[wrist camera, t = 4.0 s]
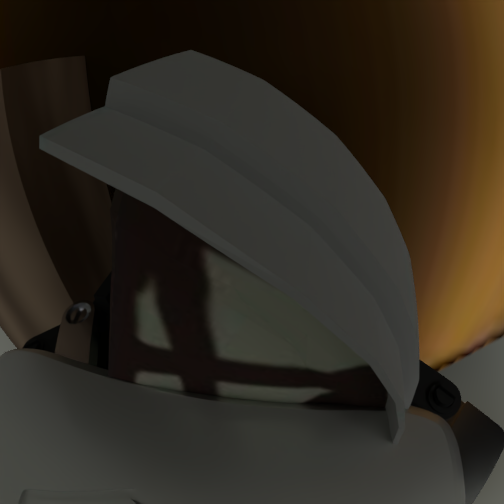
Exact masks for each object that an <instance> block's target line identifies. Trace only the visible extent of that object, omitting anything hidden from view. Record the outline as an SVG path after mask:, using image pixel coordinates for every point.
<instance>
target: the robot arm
mask: <svg viewBox="0 0 504 504" xmlns="http://www.w3.org/2000/svg"><path fill="white" fill-rule="evenodd" d="M111 274H112V271H111V272H110V274H109V275H108V276H107V278H106V279H105V280H104V282H103V283H102V284H101V286H100V287H99V289H98V290H97V291H96V293H95V294H94V298H95V300H94V302H93V303H92V302H91V301H88V300H80V301H77V302H75V303H73V304H71V305H70V306H69V307H68V308H67V309H66V310H65V311H64V314H63V316H62V320H61V324H60V325H58V326H56V327H54V328H51V329H49V330H47V331H45V332H43V333H41V334H39V335H37V336H35V337H33V338H31V339H29V340H28V341H27V342H26V343H25V345H24V346H23V348H22V349H14V350H10V351H8V352H5V353H4V354H2V355H1V356H0V504H472V503H473V502H474V500H475V499H476V497H477V495H478V494H479V493H480V491H481V489H482V488H483V486H484V485H485V483H486V481H487V479H488V478H489V476H490V474H491V472H492V471H493V469H494V467H495V465H496V463H497V461H498V459H499V457H500V455H501V453H502V451H503V449H504V430H503V429H502V428H501V427H500V426H499V425H498V424H497V423H495V422H494V421H493V420H491V419H490V418H489V417H488V416H486V415H485V414H484V413H482V412H481V411H480V410H478V409H477V408H476V407H475V406H473V405H472V404H471V403H469V402H468V401H467V402H466V403H464V402H462V401H461V396H460V391H459V390H458V388H457V387H456V386H455V385H454V384H453V383H452V382H451V381H449V380H448V379H447V378H445V377H444V376H442V375H441V374H440V373H438V372H437V371H435V370H434V369H432V368H431V367H429V366H428V365H427V364H425V363H424V362H422V361H421V360H419V382H418V385H417V388H416V391H415V394H414V397H413V399H412V402H411V405H410V407H409V408H408V409H405V430H404V432H403V434H402V436H401V438H400V440H399V442H398V445H396V444H392V439H391V433H390V427H389V422H388V416H387V411H386V409H385V408H374V407H358V406H349V405H343V404H324V403H313V404H297V403H279V402H266V401H255V400H245V399H236V398H228V397H220V396H213V395H204V394H196V393H189V392H182V391H176V390H170V389H164V388H158V387H152V386H146V385H142V384H137V383H132V382H128V381H123V380H119V379H115V378H111V377H108V364H109V327H110V292H111Z"/></svg>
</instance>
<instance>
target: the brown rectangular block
mask: <svg viewBox="0 0 504 504" xmlns="http://www.w3.org/2000/svg"><path fill="white" fill-rule="evenodd" d="M89 112H92V110H91V104H90V97H89V89H88V81H87V72H86V62H85V56H74V57H65V58H56V59H49V60H42V61H36V62H31V63H25V64H21V65H16V66H11V67H7V68H3V69H0V326H1V328H2V329H3V331H4V332H5V333H6V335H7V336H8V337H9V339H10V340H11V341H12V342H13V344H14V345H15V346H16V347H17V349H22V348H23V346H24V345H25V343H26V342H27V341H28V340H29V339H31V338H33V337H35V336H37V335H39V334H41V333H43V332H45V331H47V330H49V329H51V328H54V327H56V326H58V325H60V324H61V320H62V316H63V314H64V311H65V310H66V309H67V308H68V307H69V306H70V305H71V304H73V303H75V302H77V301H80V300H88V301H91V302H92V303H93V302H94V300H95V298H94V294H95V293H96V291H97V290H98V289H99V287H100V286H101V284H102V283H103V282H104V280H105V279H106V278H107V276H108V275H109V274H110V272H111V271H112V228H111V217H110V207H111V199H110V195H109V191H108V188H107V184H106V183H105V182H103V181H101V180H99V179H97V178H95V177H93V176H91V175H89V174H87V173H86V172H84V171H82V170H80V169H78V168H76V167H74V166H72V165H70V164H68V163H66V162H64V161H62V160H60V159H58V158H57V157H55V156H53V155H51V154H49V153H47V152H45V151H43V150H41V149H39V137H40V135H42V134H44V133H46V132H48V131H50V130H52V129H54V128H56V127H58V126H60V125H62V124H64V123H66V122H68V121H71V120H73V119H75V118H77V117H80V116H82V115H84V114H87V113H89Z"/></svg>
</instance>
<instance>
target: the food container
mask: <svg viewBox="0 0 504 504" xmlns="http://www.w3.org/2000/svg"><path fill="white" fill-rule="evenodd" d="M39 149H41V150H43V151H45V152H47V153H49V154H51V155H53V156H55V157H57V158H58V159H60V160H62V161H64V162H66V163H68V164H70V165H72V166H74V167H76V168H78V169H80V170H82V171H84V172H86V173H87V174H89V175H91V176H93V177H95V178H97V179H99V180H101V181H103V182H105V183H107V184H109V185H111V186H113V187H115V188H116V189H115V192H114V196H113V200H112V203H111V207H110V217H111V228H112V274H111V292H110V327H109V364H108V377H111V378H115V379H119V380H123V381H128V382H132V383H137V384H142V385H146V386H152V387H158V388H164V389H170V390H176V391H182V392H189V393H196V394H204V395H213V396H220V397H228V398H236V399H245V400H255V401H266V402H279V403H297V404H313V403H324V404H343V405H349V406H358V407H374V408H385V409H386V411H387V416H388V422H389V427H390V433H391V439H392V444H396V445H398V442H399V440H400V438H401V436H402V434H403V432H404V430H405V409H408V408H409V407H410V405H411V402H412V399H413V397H414V394H415V391H416V388H417V385H418V382H419V333H418V317H417V304H416V295H415V287H414V280H413V273H412V267H411V261H410V255H409V252H408V250H407V247H406V245H405V242H404V240H403V237H402V235H401V233H400V230H399V228H398V226H397V223H396V221H395V219H394V216H393V214H392V212H391V210H390V208H389V206H388V203H387V201H386V199H385V197H384V196H383V195H382V193H381V192H380V190H379V189H378V188H377V186H376V185H375V184H374V182H373V181H372V179H371V178H370V177H369V176H368V174H367V173H366V172H365V170H364V169H363V168H362V166H361V165H360V164H359V163H358V161H357V160H356V159H355V158H354V156H353V155H352V154H351V153H350V151H349V150H348V149H347V148H346V146H345V145H344V144H343V143H342V142H341V141H340V139H339V138H338V137H337V136H336V135H335V134H334V133H333V132H332V131H330V130H329V129H328V128H327V127H326V126H324V125H323V124H322V123H321V122H320V121H318V120H317V119H316V118H315V117H313V116H312V115H311V114H310V113H308V112H307V111H306V110H304V109H303V108H302V107H300V106H299V105H298V104H297V103H295V102H294V101H293V100H291V99H290V98H288V97H287V96H286V95H284V94H283V93H282V92H280V91H279V90H277V89H276V88H274V87H273V86H272V85H270V84H269V83H267V82H266V81H264V80H263V79H261V78H258V77H256V76H254V75H252V74H250V73H248V72H245V71H243V70H241V69H239V68H236V67H234V66H232V65H229V64H227V63H224V62H222V61H219V60H217V59H214V58H212V57H209V56H207V55H204V54H201V53H198V52H196V51H193V50H189V51H185V52H181V53H178V54H174V55H171V56H168V57H164V58H161V59H158V60H155V61H152V62H149V63H146V64H143V65H141V66H138V67H135V68H132V69H130V70H127V71H125V72H122V73H120V74H117V75H115V76H113V77H111V78H110V82H109V87H108V92H107V97H106V103H105V106H104V107H102V108H99V109H96V110H94V111H92V112H89V113H87V114H84V115H82V116H80V117H77V118H75V119H73V120H71V121H68V122H66V123H64V124H62V125H60V126H58V127H56V128H54V129H52V130H50V131H48V132H46V133H44V134H42V135H40V137H39Z"/></svg>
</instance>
